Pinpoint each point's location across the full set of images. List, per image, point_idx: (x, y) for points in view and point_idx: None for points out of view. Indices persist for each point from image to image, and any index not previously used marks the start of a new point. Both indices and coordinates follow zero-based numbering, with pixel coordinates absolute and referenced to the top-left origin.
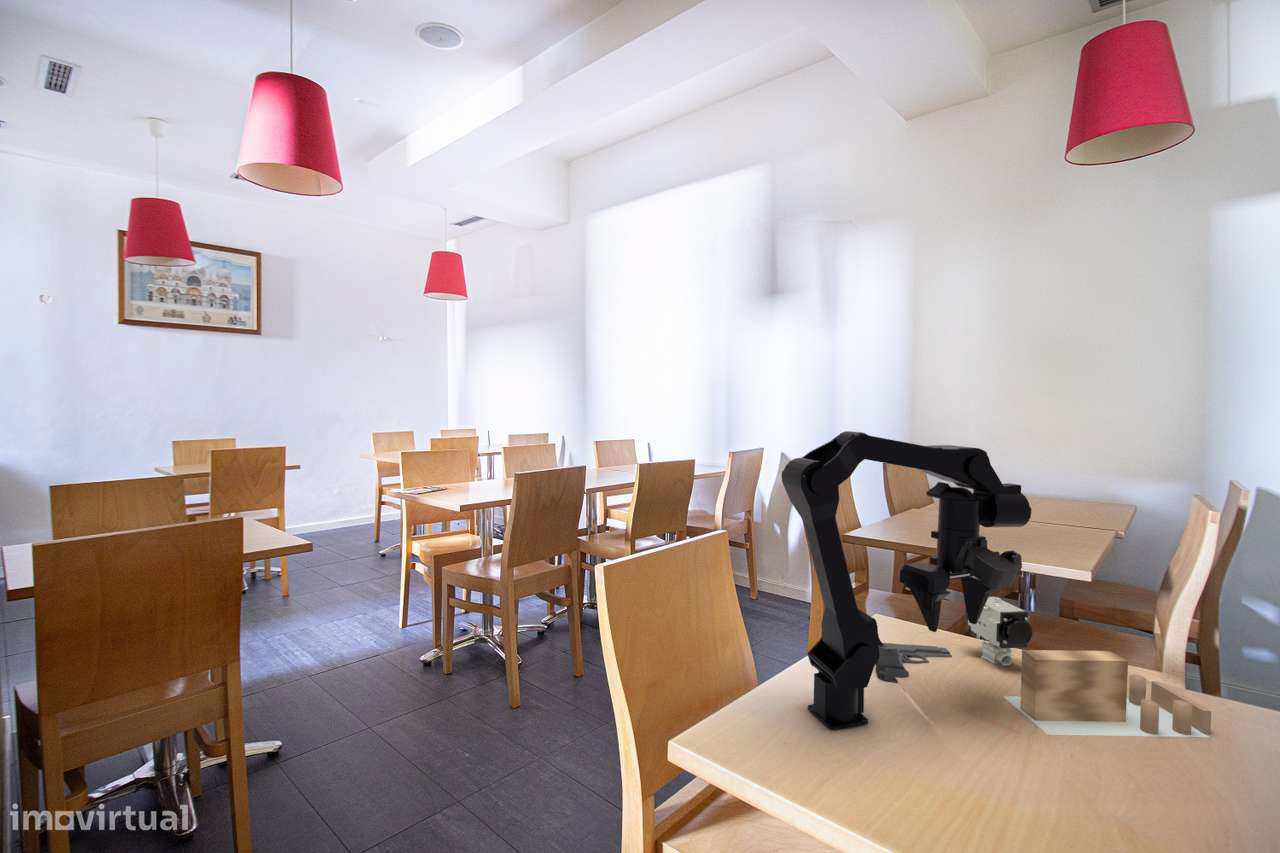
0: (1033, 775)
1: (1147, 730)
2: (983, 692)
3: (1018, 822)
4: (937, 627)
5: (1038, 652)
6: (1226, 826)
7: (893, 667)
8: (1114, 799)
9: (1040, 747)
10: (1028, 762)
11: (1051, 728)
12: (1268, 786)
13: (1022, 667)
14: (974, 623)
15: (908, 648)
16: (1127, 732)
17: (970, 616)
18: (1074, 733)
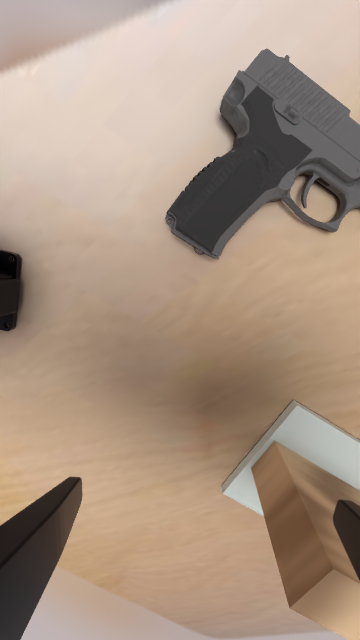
0: (120, 506)
1: None
2: (300, 364)
3: None
4: (71, 526)
5: (352, 595)
6: (205, 620)
7: (188, 236)
8: (156, 562)
9: (193, 487)
10: (143, 493)
11: (247, 489)
12: (330, 630)
13: (306, 518)
14: (334, 522)
15: (350, 161)
16: None
17: (356, 535)
18: (260, 509)
